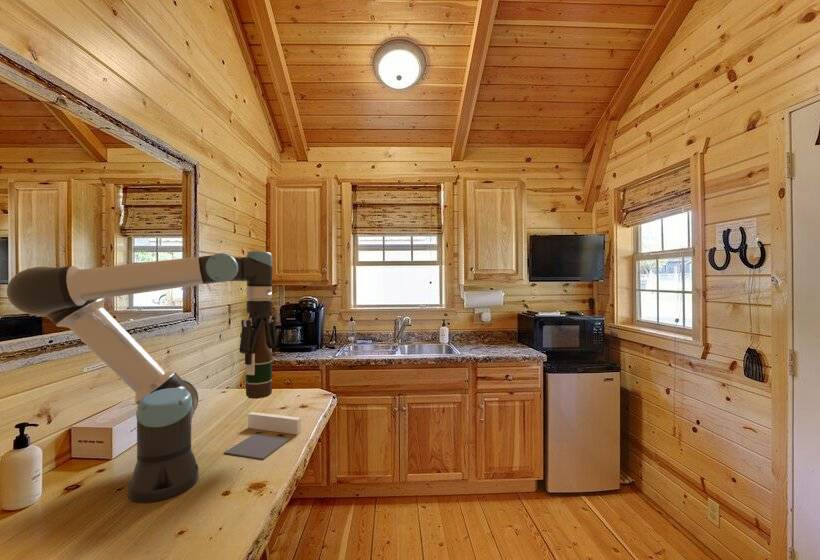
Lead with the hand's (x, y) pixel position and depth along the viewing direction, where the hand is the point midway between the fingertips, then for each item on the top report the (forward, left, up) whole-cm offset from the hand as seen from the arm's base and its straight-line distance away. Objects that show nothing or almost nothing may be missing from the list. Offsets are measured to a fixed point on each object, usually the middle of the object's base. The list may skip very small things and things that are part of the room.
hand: (258, 371), depth 115 cm
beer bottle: (0, 0, -8) cm, 8 cm away
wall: (+12, +3, -24) cm, 27 cm away
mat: (0, 0, -24) cm, 24 cm away
